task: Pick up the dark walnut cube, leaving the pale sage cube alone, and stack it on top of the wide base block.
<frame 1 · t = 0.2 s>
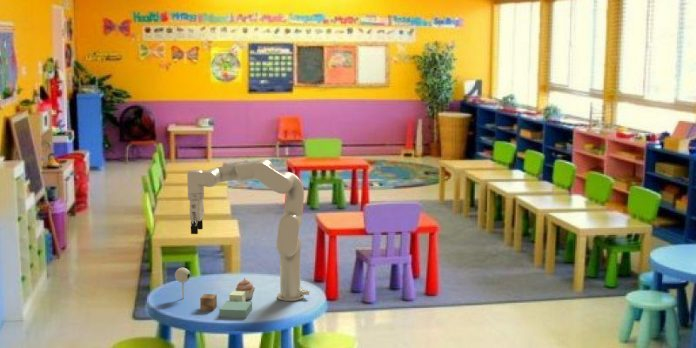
hand: (196, 231, 420), 31 cm above the table, tool pointing down, fingers open, 9 cm apart
walnut cube: (208, 308, 404), on the table
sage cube: (237, 305, 409), on the table
cupcake: (245, 298, 419), on the table
base block: (236, 314, 398), on the table
lollipop: (183, 298, 419), on the table
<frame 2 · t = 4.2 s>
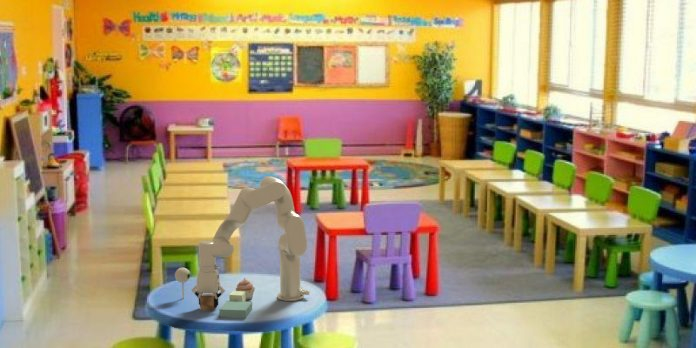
hand: (208, 306, 404), 1 cm above the table, tool pointing down, fingers closed on walnut cube, 6 cm apart
walnut cube: (208, 308, 404), on the table, touching gripper
everything else where it was.
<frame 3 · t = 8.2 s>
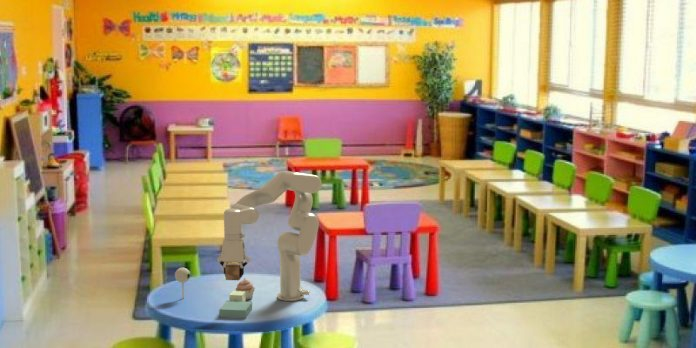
hand: (233, 275, 395), 17 cm above the table, tool pointing down, fingers closed on walnut cube, 6 cm apart
walnut cube: (234, 278, 395), point 16 cm above the table, touching gripper
everything else where it was.
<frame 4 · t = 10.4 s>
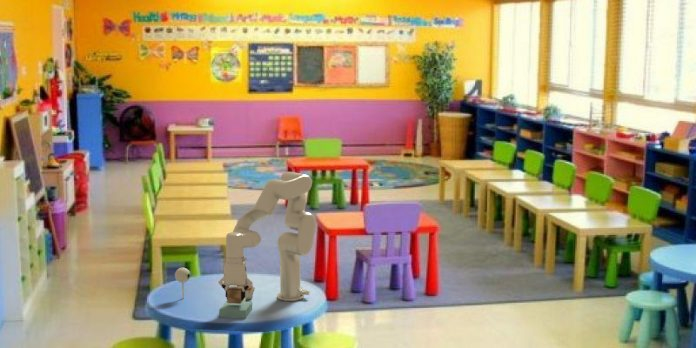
hand: (235, 298, 396), 7 cm above the table, tool pointing down, fingers closed on walnut cube, 6 cm apart
walnut cube: (235, 301, 397), point 6 cm above the table, touching gripper
everything else where it was.
when the fingers open (5 cm above the table, at t = 12.1 s): walnut cube stays where it is, point 3 cm above the table.
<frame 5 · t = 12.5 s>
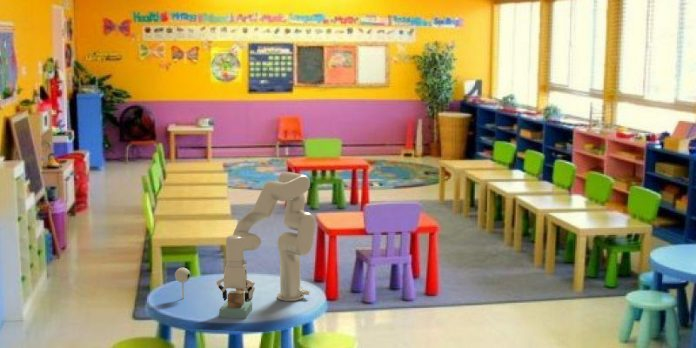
hand: (235, 300, 397), 6 cm above the table, tool pointing down, fingers open, 9 cm apart
walnut cube: (236, 305, 397), point 3 cm above the table
everything else where it was.
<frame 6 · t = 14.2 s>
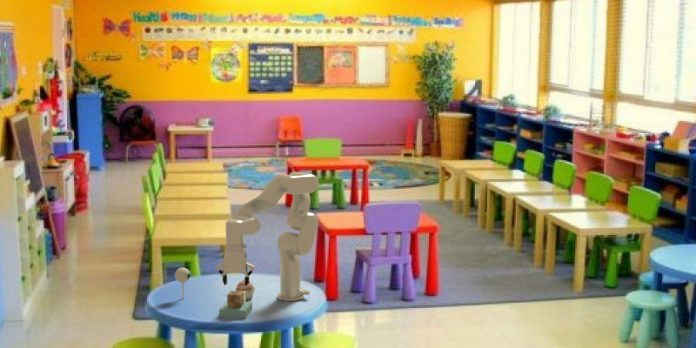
hand: (236, 284, 396), 13 cm above the table, tool pointing down, fingers open, 9 cm apart
walnut cube: (235, 305, 397), point 3 cm above the table, touching base block
base block: (236, 314, 398), on the table, touching walnut cube
everything else where it was.
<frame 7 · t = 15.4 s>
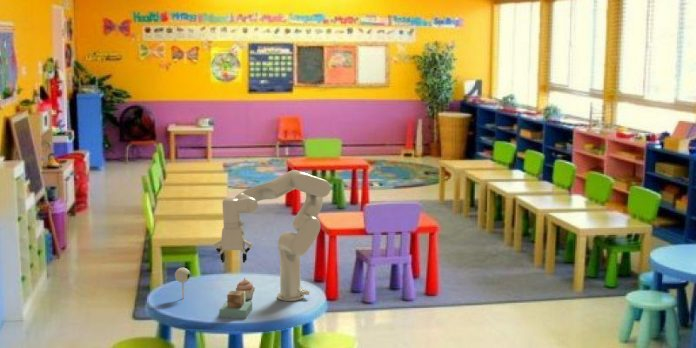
hand: (233, 261, 403), 21 cm above the table, tool pointing down, fingers open, 9 cm apart
nothing on the table moved.
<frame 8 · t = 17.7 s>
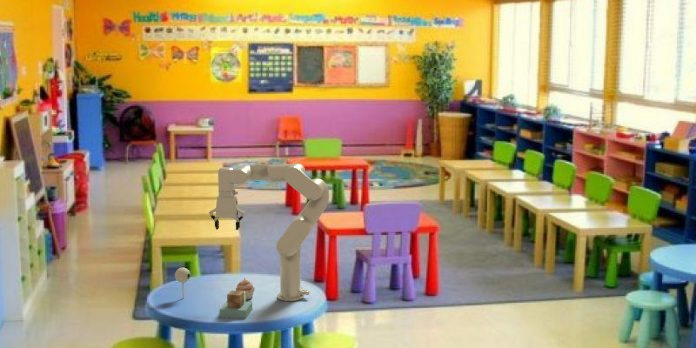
hand: (227, 229, 419), 32 cm above the table, tool pointing down, fingers open, 9 cm apart
nothing on the table moved.
at the end: walnut cube inside the target area on the base block (0.1 cm from its centre), point 4.0 cm above the base block's base; walnut cube tilted 0°; the gripper is holding nothing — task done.
